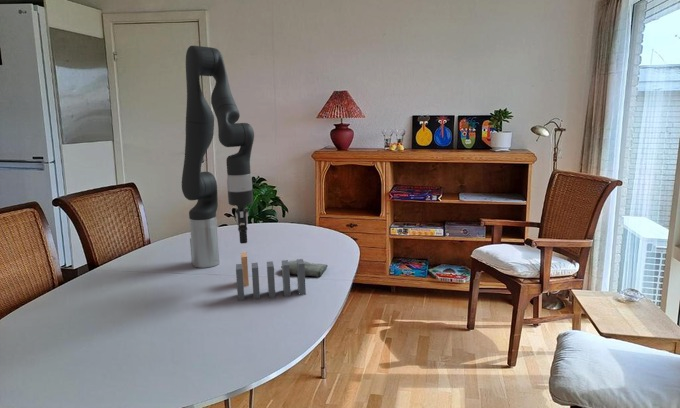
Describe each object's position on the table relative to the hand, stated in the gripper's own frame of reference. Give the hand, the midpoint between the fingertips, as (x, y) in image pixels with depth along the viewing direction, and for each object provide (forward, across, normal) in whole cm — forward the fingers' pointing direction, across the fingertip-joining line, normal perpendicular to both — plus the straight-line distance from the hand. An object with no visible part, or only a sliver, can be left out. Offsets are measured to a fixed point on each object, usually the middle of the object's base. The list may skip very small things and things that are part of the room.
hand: (243, 239), depth 158 cm
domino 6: (+14, -12, -16) cm, 25 cm away
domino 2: (+14, 0, 0) cm, 14 cm away
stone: (+15, +7, -19) cm, 25 cm away
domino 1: (+14, -12, +2) cm, 19 cm away
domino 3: (+14, -12, -3) cm, 19 cm away
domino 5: (+14, -12, -12) cm, 22 cm away
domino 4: (+14, -12, -7) cm, 20 cm away
